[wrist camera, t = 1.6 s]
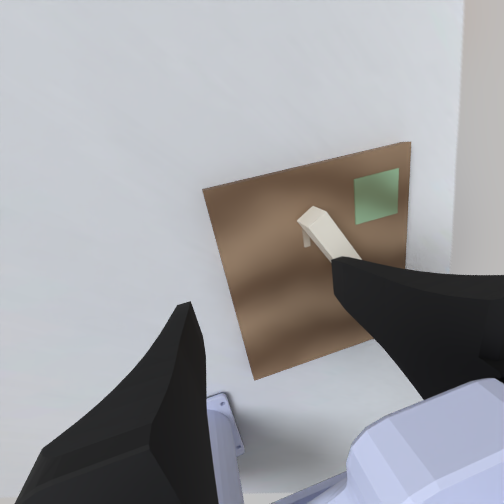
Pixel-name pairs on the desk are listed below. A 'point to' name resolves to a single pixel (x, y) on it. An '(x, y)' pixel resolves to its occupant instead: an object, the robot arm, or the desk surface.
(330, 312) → the board
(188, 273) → the desk surface
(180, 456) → the robot arm
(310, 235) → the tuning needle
